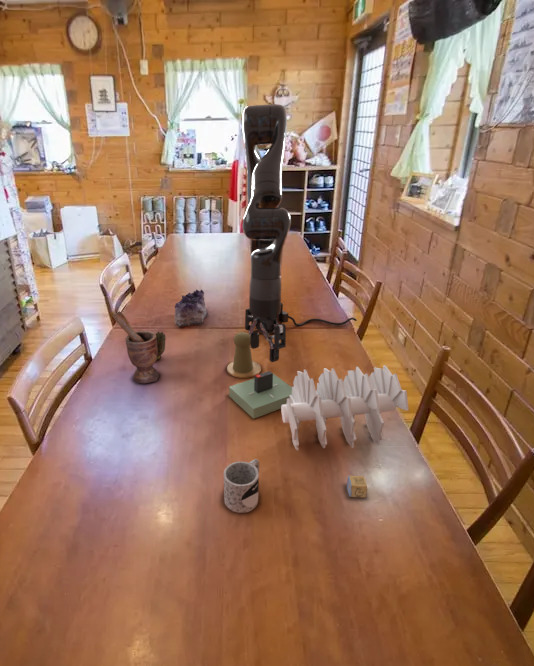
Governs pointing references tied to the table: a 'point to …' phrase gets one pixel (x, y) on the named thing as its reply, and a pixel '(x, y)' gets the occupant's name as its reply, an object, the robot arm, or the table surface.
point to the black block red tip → (263, 381)
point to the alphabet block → (356, 486)
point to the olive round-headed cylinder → (242, 353)
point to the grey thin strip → (241, 486)
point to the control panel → (260, 397)
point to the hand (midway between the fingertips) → (264, 354)
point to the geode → (190, 309)
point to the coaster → (252, 373)
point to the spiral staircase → (344, 401)
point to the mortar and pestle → (140, 350)
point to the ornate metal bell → (160, 344)
